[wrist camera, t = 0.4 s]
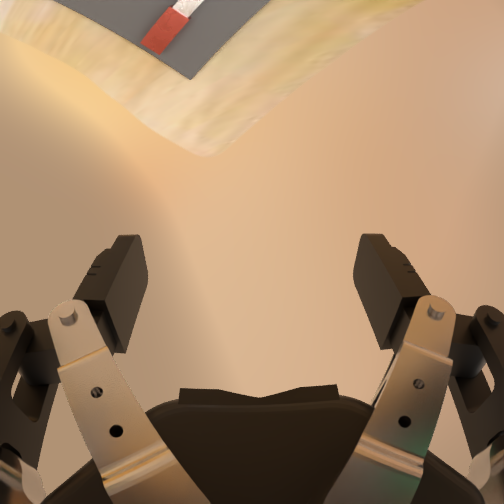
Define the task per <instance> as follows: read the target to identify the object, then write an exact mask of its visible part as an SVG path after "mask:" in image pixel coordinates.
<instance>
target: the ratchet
mask: <svg viewBox="0 0 504 504" xmlns="http://www.w3.org/2000/svg"><path fill="white" fill-rule="evenodd" d="M203 1H204V0H179V1H178V2H177V3H176V4H175V5H174V6H173V5H171V6H169V7H168V9H167V10H166V11H165V12H164V13H163V15H162V16H161V17H160V18H159V19H158V21H157V22H156V23H155V24H154V26H153V27H152V28H151V29H150V31H149V32H148V33H147V34H146V36H145V37H144V38H143V40H142V41H141V42H140V43H141V44H142V45H144V46H146V47H147V48H149V49H150V50H152V51H154V52H155V53H157V54H158V55H160V54H161V53H162V52H163V50H164V49H165V48H166V47H167V45H168V44H169V43H170V42H171V41H172V39H173V38H174V37H175V36H176V35H177V33H178V32H179V31H180V30H181V29H182V28H183V27H184V25H185V24H186V23H187V22H188V21H189V20H190V19H191V17H190V15H191V14H192V13H193V11H194V10H195V9H196V8H197V7H198V6H199V5H200V4H201V3H202V2H203Z"/></svg>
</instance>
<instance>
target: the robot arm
mask: <svg viewBox="0 0 504 504" xmlns="http://www.w3.org/2000/svg"><path fill="white" fill-rule="evenodd" d="M353 279H354V284H355V287H356V289H357V291H358V294H359V296H360V299H361V301H362V304H363V306H364V309H365V311H366V313H367V316H368V318H369V321H370V323H371V326H372V328H373V331H374V333H375V336H376V339H377V342H378V344H379V347H380V349H381V350H384V349H393V351H394V354H393V356H392V358H391V361H390V363H389V365H388V368H387V370H386V372H385V374H384V376H383V379H382V381H381V383H380V385H379V387H378V389H377V391H376V393H375V395H374V397H373V399H372V401H371V403H370V405H369V404H367V403H365V402H362V401H360V400H357V399H355V398H351V397H347V396H342V395H339V393H338V388H337V385H336V384H335V385H324V386H311V387H299V388H296V389H292V390H288V391H285V392H281V393H278V394H274V395H270V396H266V397H262V398H257V397H251V396H247V395H241V394H236V393H232V392H227V391H223V390H219V389H187V388H180V393H179V399H176V400H172V401H168V402H165V403H162V404H160V405H157V406H156V407H153V408H152V409H150V410H148V411H147V412H145V413H144V411H143V409H142V408H141V406H140V404H139V403H138V401H137V400H136V398H135V396H134V395H133V393H132V391H131V389H130V387H129V386H128V384H127V382H126V380H125V379H124V377H123V375H122V373H121V372H120V370H119V368H118V366H117V364H116V362H115V360H114V359H113V355H114V353H126V350H127V347H128V344H129V340H130V337H131V334H132V330H133V327H134V324H135V321H136V318H137V314H138V312H139V308H140V305H141V302H142V299H143V296H144V293H145V290H146V287H147V283H148V270H147V266H146V261H145V256H144V251H143V246H142V241H141V238H140V236H139V235H119V236H118V237H117V239H116V241H115V242H114V244H113V246H112V247H111V249H105V250H104V251H103V252H102V253H100V254H99V255H98V256H97V257H96V259H95V260H94V262H93V264H92V265H91V268H90V269H89V270H88V272H87V275H86V276H85V277H84V279H83V281H82V283H81V284H80V286H79V288H78V290H77V292H76V294H75V296H74V297H73V299H72V300H68V301H65V302H63V303H60V304H59V305H57V306H56V307H55V308H54V309H53V310H52V311H51V313H50V314H49V317H48V319H44V320H39V321H35V322H29V321H28V319H27V317H26V315H25V314H24V313H23V312H21V311H11V312H8V313H6V314H4V315H3V316H2V317H0V504H504V315H503V313H502V312H500V311H499V310H498V309H496V308H494V307H491V306H488V305H483V306H480V307H478V309H477V310H476V312H475V314H474V316H473V317H472V316H466V315H460V314H456V313H455V310H454V308H453V307H452V306H451V304H450V303H449V302H447V301H446V300H444V299H442V298H440V297H437V296H434V295H431V294H430V293H429V291H428V289H427V288H426V286H425V285H424V283H423V281H422V280H421V278H420V277H419V275H418V274H417V273H416V272H415V269H414V268H413V266H412V265H411V263H410V262H409V260H408V259H407V257H406V256H405V255H404V254H403V253H402V252H401V251H399V250H398V249H397V248H396V247H391V245H390V244H389V242H388V241H387V239H386V238H385V236H384V235H383V234H362V236H361V239H360V242H359V247H358V251H357V256H356V261H355V265H354V270H353ZM486 363H487V364H488V367H489V369H490V371H491V373H492V375H493V378H494V382H495V386H494V390H493V392H491V390H490V388H489V386H488V383H487V381H486V378H485V376H484V374H483V372H482V368H483V366H484V365H485V364H486ZM17 372H19V373H20V375H21V378H20V380H19V383H18V385H17V388H16V391H15V394H14V397H13V399H12V396H11V388H12V385H13V382H14V380H15V377H16V375H17ZM60 382H61V383H62V386H63V389H64V391H65V394H66V397H67V400H68V402H69V405H70V407H71V410H72V412H73V415H74V418H75V420H76V422H77V425H78V427H79V429H80V432H81V434H82V436H83V438H84V441H85V443H86V445H87V447H88V449H89V451H90V454H91V456H92V459H91V460H90V461H89V462H88V463H86V464H85V465H84V466H83V467H82V468H80V469H79V470H78V471H77V472H76V473H75V474H73V475H72V476H71V477H70V478H69V479H67V480H66V481H65V482H64V483H63V484H61V485H60V486H59V487H58V488H57V489H55V490H54V491H53V492H52V493H50V494H49V495H48V496H47V497H46V498H45V496H46V493H45V490H44V488H43V483H42V479H41V477H40V475H39V473H38V472H37V467H38V462H39V457H40V452H41V448H42V443H43V439H44V435H45V431H46V427H47V423H48V419H49V415H50V412H51V408H52V404H53V401H54V397H55V394H56V391H57V388H58V384H59V383H60ZM447 386H449V389H450V391H451V394H452V397H453V400H454V403H455V405H456V408H457V411H458V414H459V417H460V420H461V423H462V426H463V430H464V433H465V436H466V439H467V443H468V446H469V450H470V453H471V456H472V462H471V464H470V468H469V474H468V475H467V477H466V478H465V477H464V476H462V475H461V474H460V473H458V472H457V471H456V470H454V469H453V468H452V467H450V466H449V465H447V464H446V463H445V462H444V461H442V460H441V459H439V458H438V457H437V456H435V455H434V454H433V453H432V452H430V451H429V450H428V447H429V444H430V442H431V439H432V436H433V433H434V430H435V427H436V424H437V421H438V418H439V414H440V411H441V407H442V404H443V401H444V397H445V393H446V390H447Z"/></svg>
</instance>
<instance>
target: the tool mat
mask: <svg viewBox="0 0 504 504" xmlns="http://www.w3.org/2000/svg"><path fill="white" fill-rule="evenodd" d="M54 1H56V2H58V3H60V4H62V5H64V6H66V7H68V8H70V9H72V10H74V11H76V12H78V13H80V14H82V15H84V16H86V17H87V18H89V19H91V20H93V21H95V22H97V23H99V24H100V25H102V26H104V27H106V28H108V29H109V30H111V31H113V32H115V33H116V34H118V35H120V36H122V37H123V38H125V39H127V40H128V41H130V42H132V43H133V44H135V45H137V46H138V47H140V48H142V49H143V50H145V51H146V52H148V53H150V54H151V55H153V56H154V57H156V58H158V59H159V60H161V61H162V62H164V63H165V64H167V65H168V66H170V67H172V68H173V69H175V70H176V71H178V72H179V73H181V74H182V75H184V76H185V77H187V78H188V79H189V80H191V79H192V78H193V77H194V76H195V75H196V73H197V72H198V71H199V70H200V69H201V68H202V67H203V66H204V65H205V64H206V62H207V61H208V60H209V59H210V58H211V57H212V56H213V55H214V54H215V53H216V52H217V51H218V50H219V49H220V48H221V47H222V46H223V45H224V44H225V43H226V42H227V41H228V40H229V39H230V38H231V37H232V36H233V35H234V34H235V33H236V32H237V31H238V30H239V29H240V28H241V27H242V26H243V25H244V24H245V23H246V22H247V21H248V20H249V19H250V18H251V17H252V16H253V15H255V14H256V13H257V12H258V11H259V10H260V9H261V8H262V7H263V6H264V5H266V4H267V3H268V2H269V1H270V0H204V1H203V2H202V3H201V4H200V5H199V6H198V7H197V8H196V9H195V10H194V11H193V13H192V14H191V15H190V17H191V19H190V20H189V21H188V22H187V23H186V24H185V25H184V27H183V28H182V29H181V30H180V31H179V32H178V33H177V35H176V36H175V37H174V38H173V39H172V41H171V42H170V43H169V44H168V45H167V47H166V48H165V49H164V50H163V52H162V53H161V54H160V55H158V54H157V53H155V52H154V51H152V50H150V49H149V48H147V47H146V46H144V45H142V44H141V43H140V42H141V41H142V40H143V38H144V37H145V36H146V34H147V33H148V32H149V31H150V29H151V28H152V27H153V26H154V24H155V23H156V22H157V21H158V19H159V18H160V17H161V16H162V15H163V13H164V12H165V11H166V10H167V9H168V7H169V6H171V5H173V6H174V5H175V4H176V3H177V2H178V1H179V0H54Z"/></svg>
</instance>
